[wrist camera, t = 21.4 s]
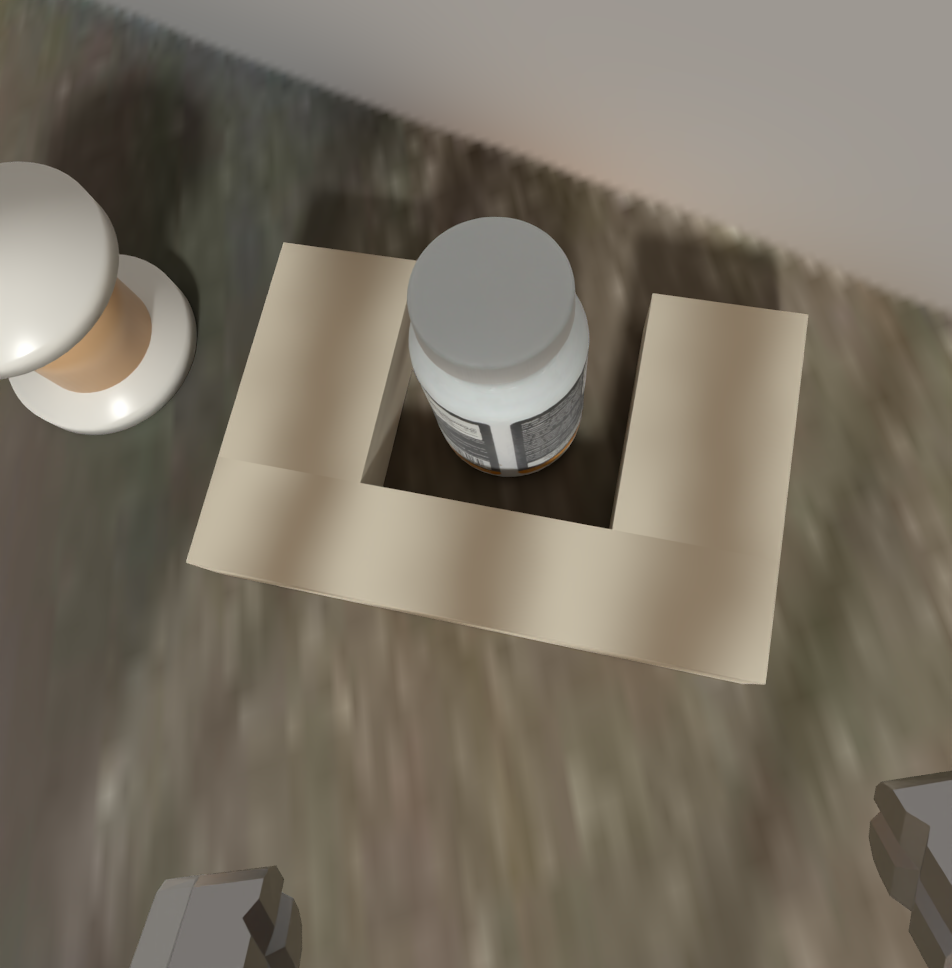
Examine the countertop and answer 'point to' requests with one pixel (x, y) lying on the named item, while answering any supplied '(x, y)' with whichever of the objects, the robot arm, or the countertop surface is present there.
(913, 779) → the robot arm
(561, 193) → the countertop surface
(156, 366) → the spool
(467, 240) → the pill bottle
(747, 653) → the notched board
